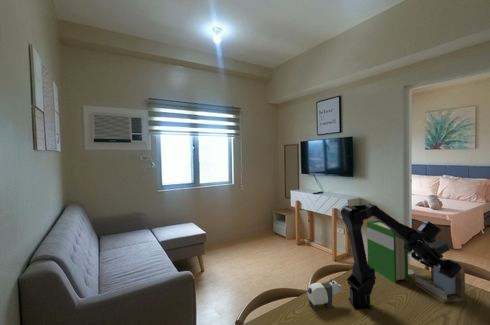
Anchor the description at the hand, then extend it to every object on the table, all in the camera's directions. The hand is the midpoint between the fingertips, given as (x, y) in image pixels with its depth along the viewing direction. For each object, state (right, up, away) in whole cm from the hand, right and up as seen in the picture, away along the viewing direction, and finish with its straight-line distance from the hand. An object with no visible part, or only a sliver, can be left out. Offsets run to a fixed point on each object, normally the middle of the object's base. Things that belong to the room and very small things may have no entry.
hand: (447, 273), depth 101 cm
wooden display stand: (-2, -9, +3) cm, 9 cm away
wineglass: (-3, -9, +21) cm, 23 cm away
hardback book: (-13, -9, +20) cm, 26 cm away
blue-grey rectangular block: (-1, -7, 0) cm, 7 cm away
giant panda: (-52, -11, -3) cm, 53 cm away
